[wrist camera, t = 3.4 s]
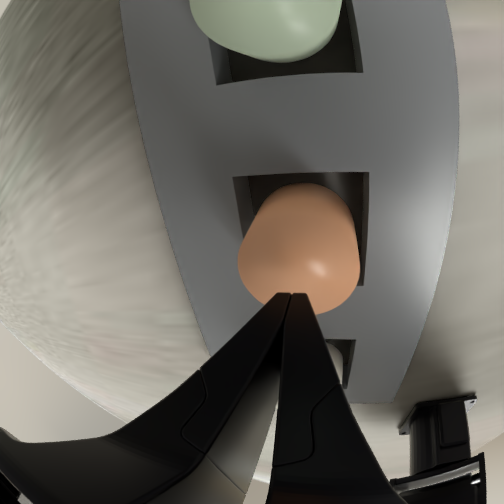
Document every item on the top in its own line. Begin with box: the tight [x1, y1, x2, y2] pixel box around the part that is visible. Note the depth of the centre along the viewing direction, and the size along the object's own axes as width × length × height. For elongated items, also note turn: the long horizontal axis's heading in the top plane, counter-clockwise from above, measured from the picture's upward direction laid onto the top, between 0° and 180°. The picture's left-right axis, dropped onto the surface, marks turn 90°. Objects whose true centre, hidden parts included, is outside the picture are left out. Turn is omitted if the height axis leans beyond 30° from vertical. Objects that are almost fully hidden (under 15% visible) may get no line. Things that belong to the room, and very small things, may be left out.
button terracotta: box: [237, 183, 360, 315], centre depth 10 cm, size 4×4×3 cm
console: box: [119, 0, 459, 403], centre depth 12 cm, size 26×12×2 cm, turn 8°
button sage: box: [189, 0, 342, 63], centre depth 6 cm, size 4×4×3 cm
